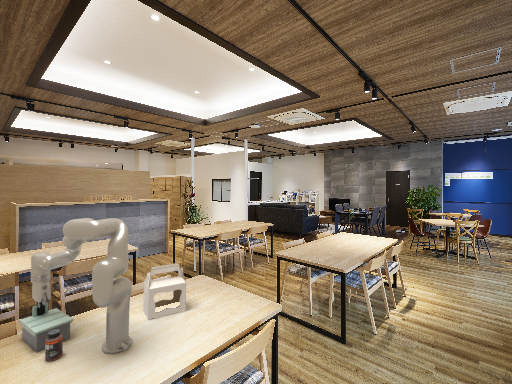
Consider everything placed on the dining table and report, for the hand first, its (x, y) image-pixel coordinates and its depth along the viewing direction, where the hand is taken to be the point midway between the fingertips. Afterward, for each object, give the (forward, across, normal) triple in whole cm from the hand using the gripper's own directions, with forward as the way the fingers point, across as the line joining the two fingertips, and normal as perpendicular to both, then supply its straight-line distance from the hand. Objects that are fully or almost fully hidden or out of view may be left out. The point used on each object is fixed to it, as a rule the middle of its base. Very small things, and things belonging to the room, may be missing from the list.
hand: (40, 313), depth 129 cm
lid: (+3, -8, 0) cm, 8 cm away
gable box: (+11, -30, -51) cm, 60 cm away
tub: (+10, -8, 0) cm, 13 cm away
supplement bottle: (+10, -27, +4) cm, 29 cm away
